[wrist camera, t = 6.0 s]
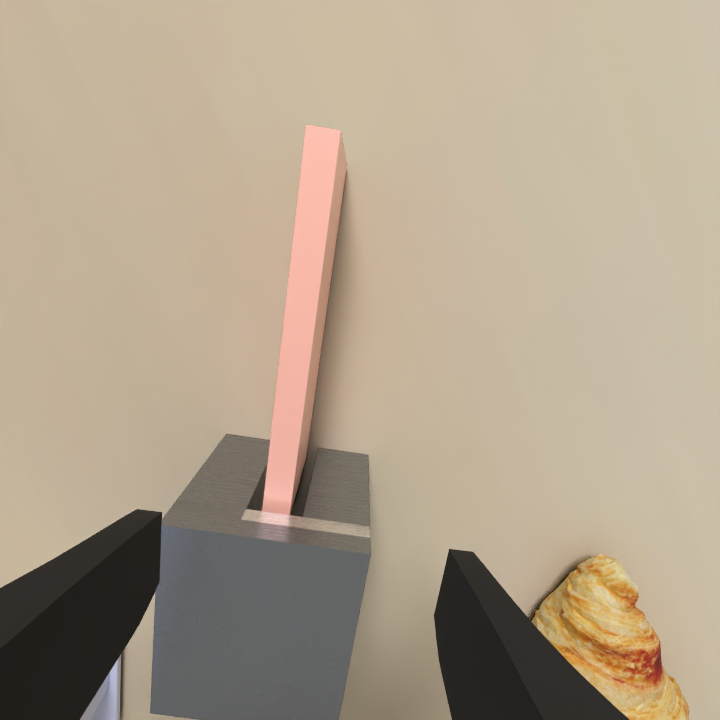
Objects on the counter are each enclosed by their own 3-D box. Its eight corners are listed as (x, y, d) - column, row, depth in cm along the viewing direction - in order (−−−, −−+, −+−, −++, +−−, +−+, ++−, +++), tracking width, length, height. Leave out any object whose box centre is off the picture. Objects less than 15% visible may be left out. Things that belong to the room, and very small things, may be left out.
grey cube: (214, 574, 22) (150, 713, 15) (226, 434, 20) (158, 524, 13) (343, 592, 22) (335, 736, 16) (368, 454, 20) (370, 554, 14)
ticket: (285, 454, 20) (261, 516, 15) (322, 159, 17) (306, 124, 12) (306, 457, 20) (288, 520, 15) (347, 163, 17) (340, 130, 12)
